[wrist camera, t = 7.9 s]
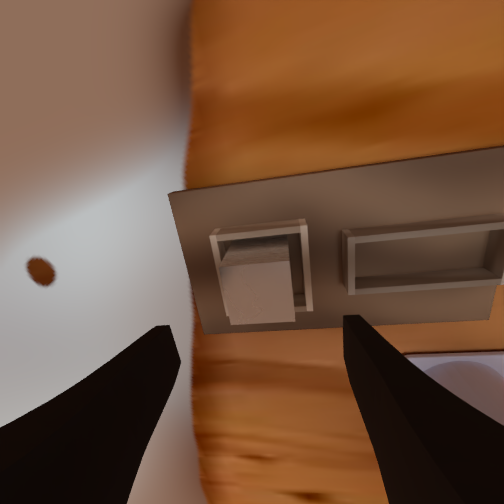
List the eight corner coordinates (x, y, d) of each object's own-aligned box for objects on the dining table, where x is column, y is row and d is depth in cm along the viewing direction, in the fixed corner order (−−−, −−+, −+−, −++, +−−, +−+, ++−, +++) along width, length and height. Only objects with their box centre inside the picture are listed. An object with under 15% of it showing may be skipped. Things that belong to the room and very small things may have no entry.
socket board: (478, 311, 18) (507, 334, 16) (207, 326, 21) (198, 348, 19) (512, 144, 14) (556, 143, 12) (173, 191, 17) (157, 198, 15)
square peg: (291, 280, 18) (295, 321, 13) (242, 284, 18) (230, 325, 14) (287, 232, 16) (289, 260, 12) (233, 238, 17) (218, 267, 13)
